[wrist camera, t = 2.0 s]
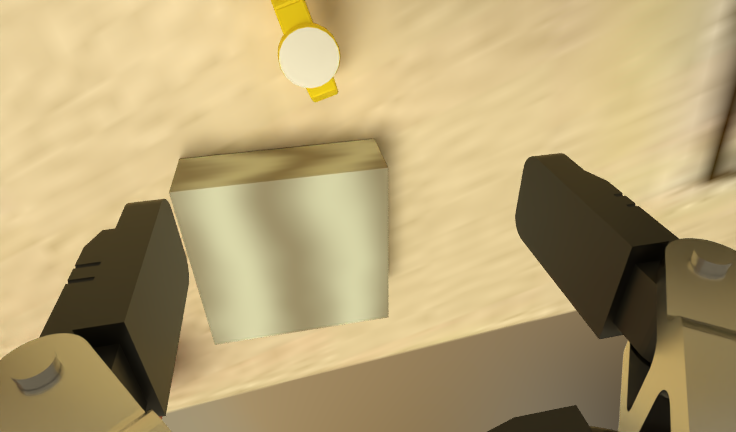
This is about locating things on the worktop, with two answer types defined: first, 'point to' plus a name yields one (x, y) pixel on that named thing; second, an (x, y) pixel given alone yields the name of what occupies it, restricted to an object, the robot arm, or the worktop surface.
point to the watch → (306, 50)
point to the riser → (286, 237)
